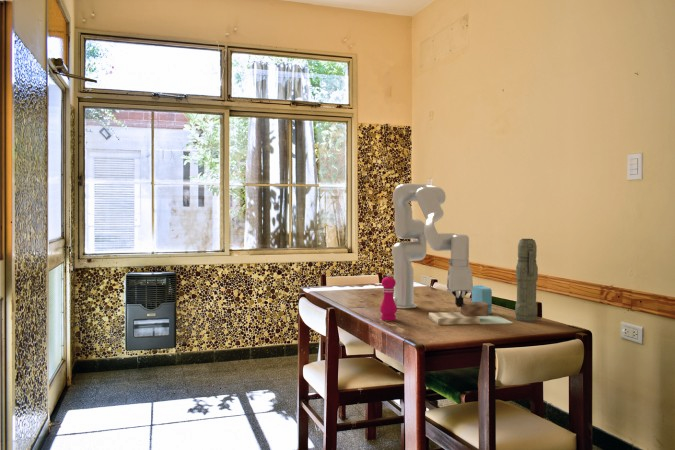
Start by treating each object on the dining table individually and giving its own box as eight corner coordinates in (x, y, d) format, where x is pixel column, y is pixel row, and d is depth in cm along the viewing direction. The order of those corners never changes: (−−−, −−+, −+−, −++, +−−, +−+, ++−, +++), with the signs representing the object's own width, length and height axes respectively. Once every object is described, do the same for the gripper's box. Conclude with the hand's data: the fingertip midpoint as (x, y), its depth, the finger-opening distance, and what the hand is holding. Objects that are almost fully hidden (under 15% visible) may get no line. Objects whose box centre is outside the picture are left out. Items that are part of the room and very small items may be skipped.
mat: (480, 324, 226) (480, 323, 226) (467, 317, 241) (467, 316, 241) (512, 323, 228) (512, 322, 228) (498, 316, 242) (498, 315, 242)
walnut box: (465, 316, 229) (465, 304, 229) (460, 313, 236) (460, 301, 235) (488, 316, 230) (489, 304, 230) (483, 313, 237) (483, 302, 237)
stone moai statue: (523, 323, 229) (524, 239, 228) (510, 317, 240) (511, 238, 239) (542, 322, 230) (544, 239, 229) (529, 317, 242) (530, 238, 241)
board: (437, 324, 225) (437, 318, 225) (428, 318, 238) (428, 312, 238) (479, 323, 227) (479, 317, 227) (468, 317, 240) (468, 311, 240)
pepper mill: (398, 318, 237) (398, 272, 237) (394, 321, 230) (395, 274, 230) (382, 317, 240) (382, 271, 239) (378, 320, 233) (378, 273, 232)
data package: (491, 315, 246) (492, 288, 246) (482, 315, 245) (482, 288, 245) (480, 310, 258) (480, 285, 257) (471, 310, 257) (471, 285, 257)
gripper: (445, 264, 227) (444, 308, 228) (479, 264, 229) (479, 307, 229) (439, 262, 235) (439, 305, 235) (473, 262, 236) (473, 304, 237)
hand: (459, 306), depth 232 cm, fingers closed
